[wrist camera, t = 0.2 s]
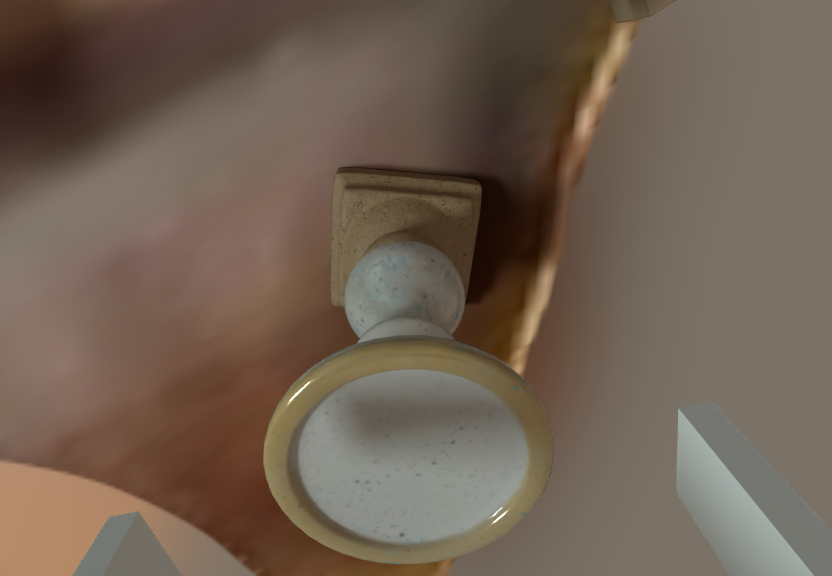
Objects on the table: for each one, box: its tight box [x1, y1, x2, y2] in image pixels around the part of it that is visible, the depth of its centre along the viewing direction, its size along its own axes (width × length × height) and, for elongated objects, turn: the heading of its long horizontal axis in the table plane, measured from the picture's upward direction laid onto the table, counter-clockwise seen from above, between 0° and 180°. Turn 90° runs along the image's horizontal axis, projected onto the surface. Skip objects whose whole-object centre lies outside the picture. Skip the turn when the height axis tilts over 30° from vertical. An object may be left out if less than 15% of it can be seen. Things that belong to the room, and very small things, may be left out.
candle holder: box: [263, 167, 554, 564], centre depth 27 cm, size 11×11×24 cm
